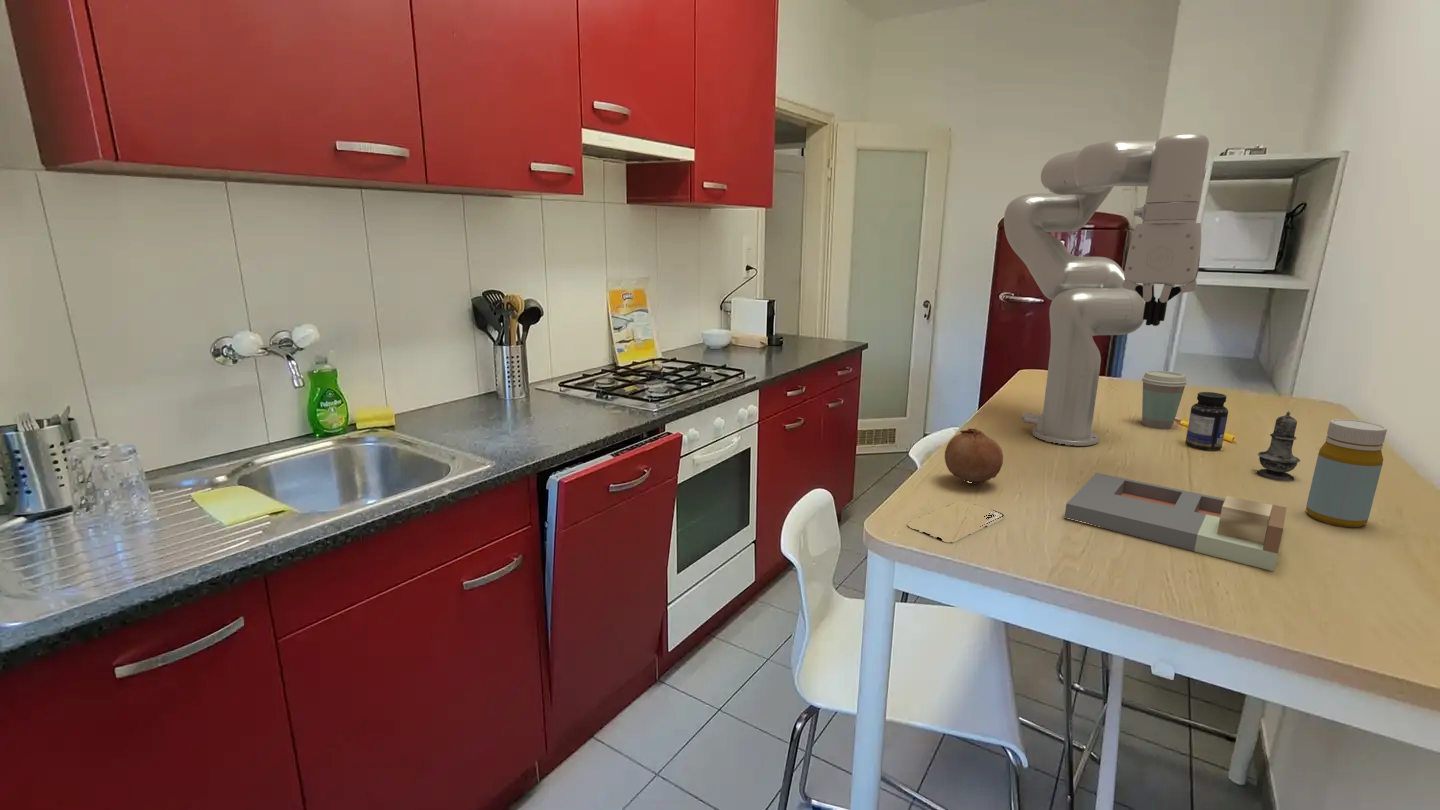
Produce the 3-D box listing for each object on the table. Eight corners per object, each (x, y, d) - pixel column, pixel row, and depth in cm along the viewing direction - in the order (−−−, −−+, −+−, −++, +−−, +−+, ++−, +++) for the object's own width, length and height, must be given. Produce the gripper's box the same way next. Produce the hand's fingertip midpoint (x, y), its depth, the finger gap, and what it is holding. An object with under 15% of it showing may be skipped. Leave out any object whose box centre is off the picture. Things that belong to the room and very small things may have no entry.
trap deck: (1064, 518, 102) (1069, 482, 100) (1094, 486, 115) (1099, 453, 113) (1273, 571, 86) (1283, 528, 84) (1281, 526, 99) (1289, 488, 97)
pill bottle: (1208, 442, 139) (1217, 390, 136) (1228, 451, 133) (1239, 398, 130) (1178, 442, 139) (1186, 390, 136) (1197, 451, 133) (1207, 397, 130)
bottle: (1372, 532, 96) (1398, 434, 93) (1309, 522, 100) (1332, 426, 96) (1359, 515, 102) (1383, 422, 98) (1301, 506, 106) (1321, 416, 102)
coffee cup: (1188, 430, 147) (1197, 377, 144) (1149, 430, 147) (1158, 377, 144) (1163, 420, 155) (1172, 370, 152) (1127, 420, 155) (1134, 370, 152)
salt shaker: (1303, 482, 116) (1319, 416, 113) (1265, 480, 117) (1279, 414, 114) (1283, 471, 122) (1297, 408, 119) (1247, 469, 123) (1260, 406, 120)
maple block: (1216, 533, 91) (1222, 506, 90) (1221, 522, 94) (1226, 495, 93) (1263, 544, 87) (1269, 516, 86) (1266, 532, 91) (1272, 505, 90)
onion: (933, 484, 116) (937, 429, 114) (956, 470, 123) (960, 418, 120) (987, 498, 110) (993, 440, 107) (1008, 482, 117) (1014, 428, 114)
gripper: (1113, 215, 112) (1099, 323, 117) (1222, 213, 103) (1202, 331, 107) (1123, 216, 118) (1109, 319, 122) (1228, 214, 108) (1208, 326, 113)
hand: (1152, 324), depth 115 cm, fingers closed
